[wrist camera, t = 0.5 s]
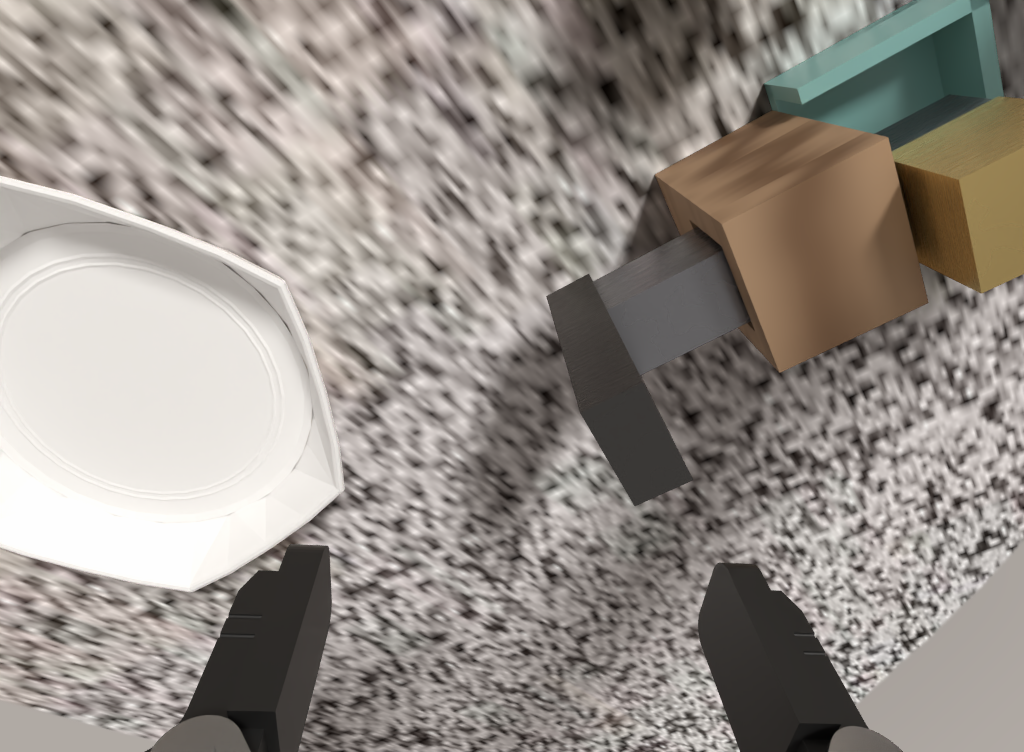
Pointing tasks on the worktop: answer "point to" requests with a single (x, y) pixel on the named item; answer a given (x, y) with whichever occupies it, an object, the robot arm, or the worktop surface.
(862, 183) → the block
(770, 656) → the robot arm
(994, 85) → the tray
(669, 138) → the worktop surface
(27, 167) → the worktop surface
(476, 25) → the worktop surface
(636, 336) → the grey l-shaped block
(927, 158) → the block
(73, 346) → the pan
